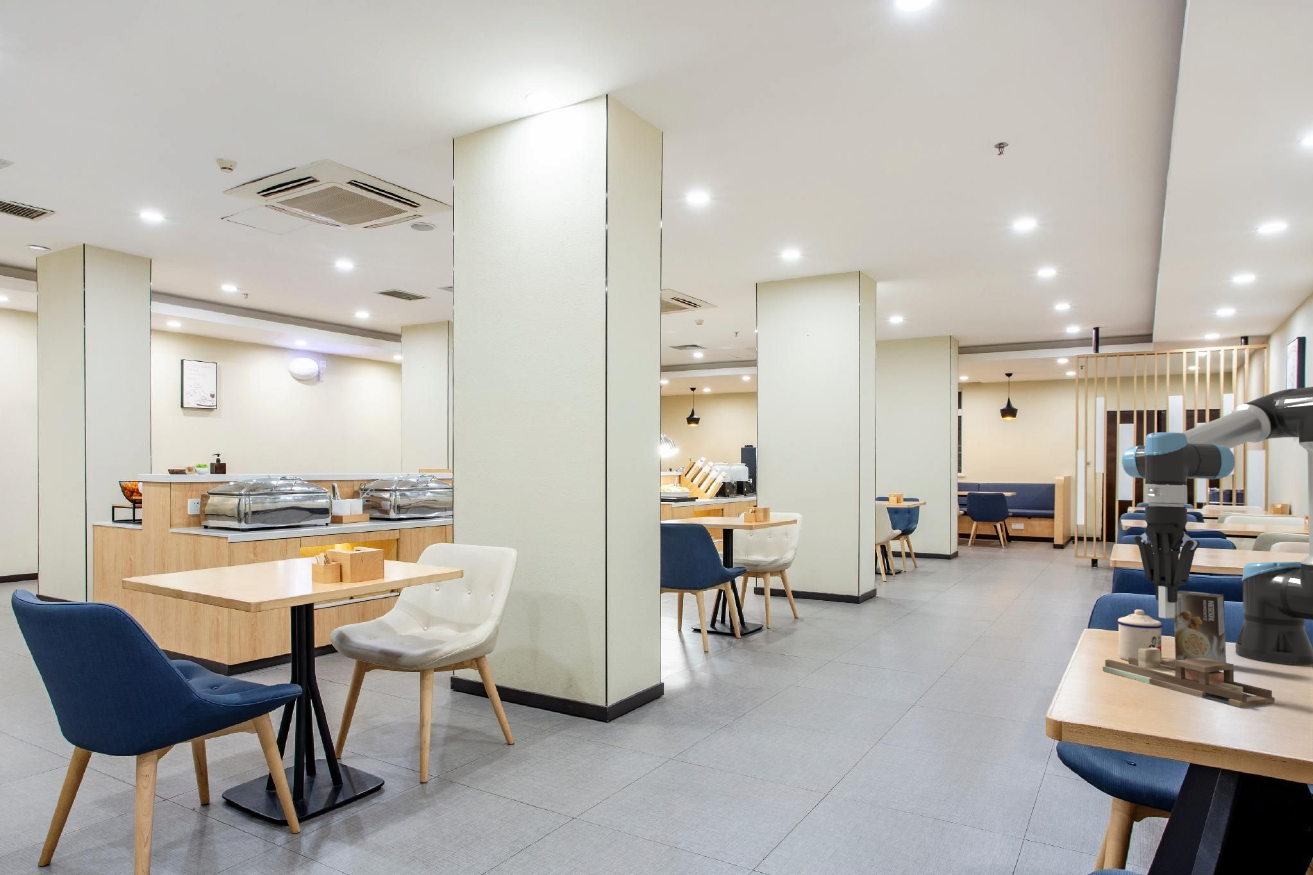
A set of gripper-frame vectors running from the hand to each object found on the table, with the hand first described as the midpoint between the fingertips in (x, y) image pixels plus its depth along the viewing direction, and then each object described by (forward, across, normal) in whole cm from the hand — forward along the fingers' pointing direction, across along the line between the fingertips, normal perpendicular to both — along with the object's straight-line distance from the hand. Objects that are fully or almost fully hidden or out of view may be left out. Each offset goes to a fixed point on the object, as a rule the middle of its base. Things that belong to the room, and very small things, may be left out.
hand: (1166, 617), depth 167 cm
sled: (+12, +4, 0) cm, 13 cm away
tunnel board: (+14, +3, 0) cm, 14 cm away
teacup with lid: (+14, -18, +16) cm, 27 cm away
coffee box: (+14, -10, +26) cm, 31 cm away
